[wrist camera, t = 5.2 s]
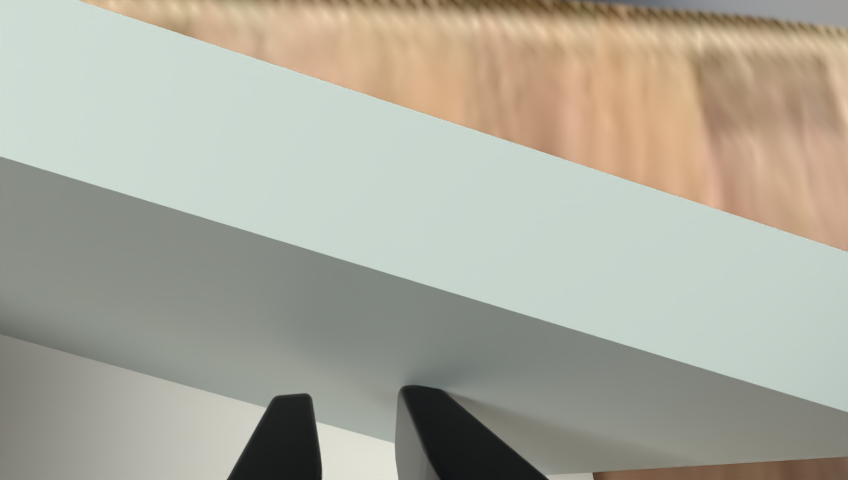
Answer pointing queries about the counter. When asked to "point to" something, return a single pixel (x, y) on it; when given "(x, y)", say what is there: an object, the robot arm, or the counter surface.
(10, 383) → the card
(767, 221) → the counter surface
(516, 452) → the robot arm
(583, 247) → the hinged panel
